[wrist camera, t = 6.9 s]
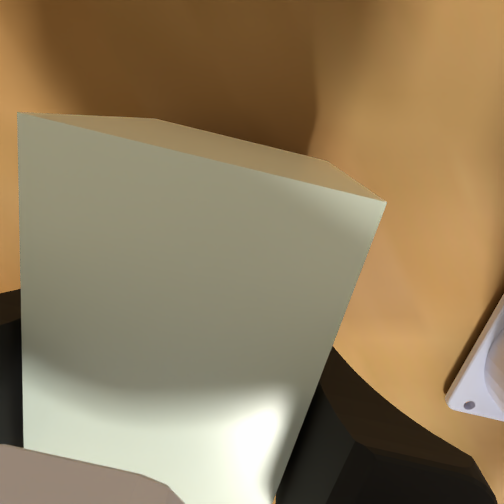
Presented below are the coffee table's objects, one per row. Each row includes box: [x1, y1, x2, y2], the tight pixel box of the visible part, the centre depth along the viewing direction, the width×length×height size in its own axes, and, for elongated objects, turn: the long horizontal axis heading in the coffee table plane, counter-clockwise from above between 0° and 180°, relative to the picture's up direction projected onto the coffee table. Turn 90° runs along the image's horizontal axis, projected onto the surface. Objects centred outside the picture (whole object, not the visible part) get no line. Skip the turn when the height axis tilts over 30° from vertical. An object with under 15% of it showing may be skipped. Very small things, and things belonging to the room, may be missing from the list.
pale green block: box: [17, 112, 387, 504], centre depth 11 cm, size 6×12×7 cm, turn 167°
